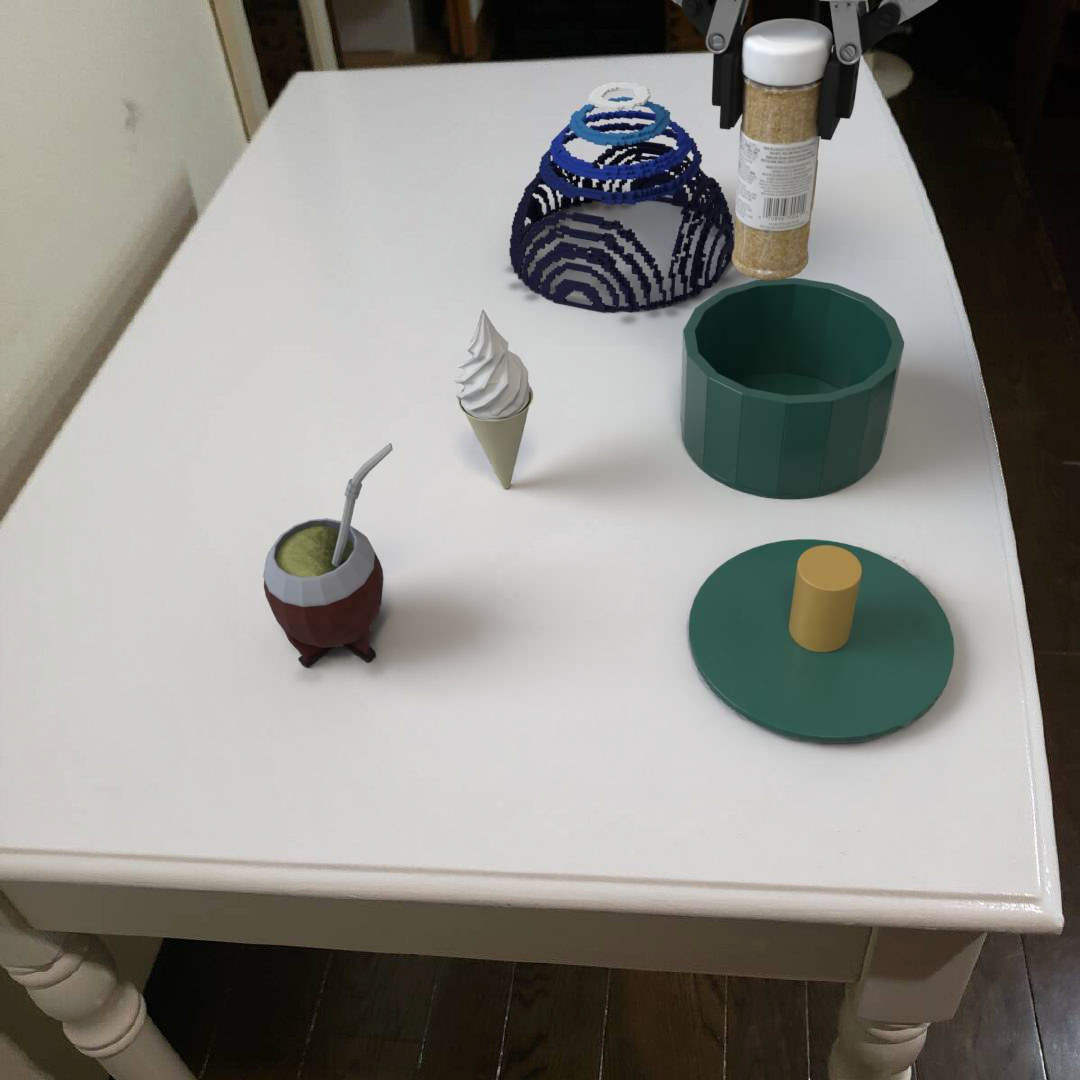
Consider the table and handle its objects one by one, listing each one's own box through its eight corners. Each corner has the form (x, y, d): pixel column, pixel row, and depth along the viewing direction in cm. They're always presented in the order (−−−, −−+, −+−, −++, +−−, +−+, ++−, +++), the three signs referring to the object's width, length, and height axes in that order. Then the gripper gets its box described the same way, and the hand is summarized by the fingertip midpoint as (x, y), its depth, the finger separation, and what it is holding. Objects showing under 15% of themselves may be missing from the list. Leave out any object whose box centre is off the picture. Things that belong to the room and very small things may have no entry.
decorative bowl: (566, 183, 112) (558, 35, 102) (760, 214, 105) (772, 59, 95) (474, 286, 99) (455, 129, 89) (687, 329, 92) (692, 165, 82)
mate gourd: (263, 642, 71) (196, 465, 61) (355, 572, 75) (308, 393, 65) (339, 702, 67) (282, 523, 57) (432, 624, 71) (395, 444, 61)
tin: (899, 392, 85) (919, 296, 79) (861, 518, 76) (880, 420, 70) (713, 358, 89) (718, 265, 83) (655, 473, 80) (656, 377, 74)
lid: (967, 584, 71) (990, 507, 66) (927, 783, 61) (951, 709, 56) (727, 529, 76) (733, 454, 71) (654, 705, 66) (655, 630, 61)
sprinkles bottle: (807, 245, 68) (833, 14, 58) (807, 285, 65) (834, 49, 55) (731, 242, 69) (745, 15, 59) (727, 283, 65) (741, 49, 56)
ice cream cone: (461, 476, 81) (433, 299, 71) (526, 456, 82) (508, 279, 72) (484, 519, 78) (459, 340, 67) (551, 497, 79) (537, 318, 68)
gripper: (1033, -310, 48) (951, 109, 60) (652, -303, 53) (652, 82, 66) (1016, -274, 43) (931, 173, 56) (599, -271, 48) (610, 138, 61)
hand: (780, 120), depth 60 cm, fingers closed on sprinkles bottle, 4 cm apart
